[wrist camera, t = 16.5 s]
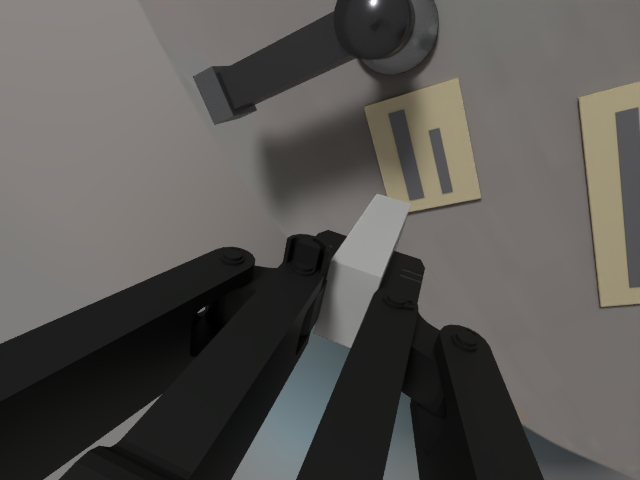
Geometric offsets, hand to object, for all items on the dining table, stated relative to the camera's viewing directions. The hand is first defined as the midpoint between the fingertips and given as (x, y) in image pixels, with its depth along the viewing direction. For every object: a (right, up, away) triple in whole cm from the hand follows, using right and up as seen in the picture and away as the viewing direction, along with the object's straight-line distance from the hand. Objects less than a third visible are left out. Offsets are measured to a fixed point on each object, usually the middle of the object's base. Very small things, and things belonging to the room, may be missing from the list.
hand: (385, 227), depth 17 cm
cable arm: (-3, +11, +9) cm, 15 cm away
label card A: (+5, +6, +14) cm, 16 cm away
